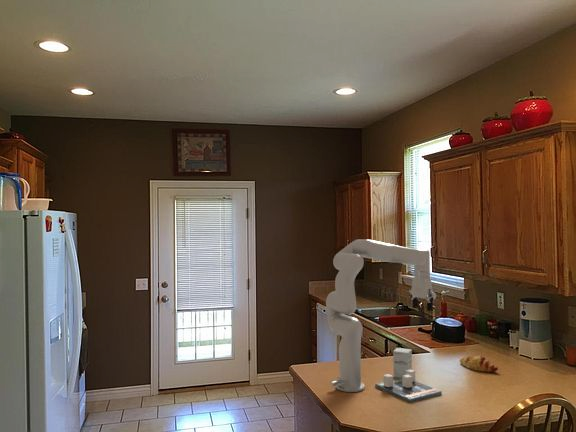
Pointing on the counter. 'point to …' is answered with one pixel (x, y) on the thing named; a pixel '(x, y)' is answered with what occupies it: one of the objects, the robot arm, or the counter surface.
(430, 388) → the panel
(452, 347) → the counter surface
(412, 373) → the block
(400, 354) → the supplement box
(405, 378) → the block
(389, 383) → the block
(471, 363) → the croissant
